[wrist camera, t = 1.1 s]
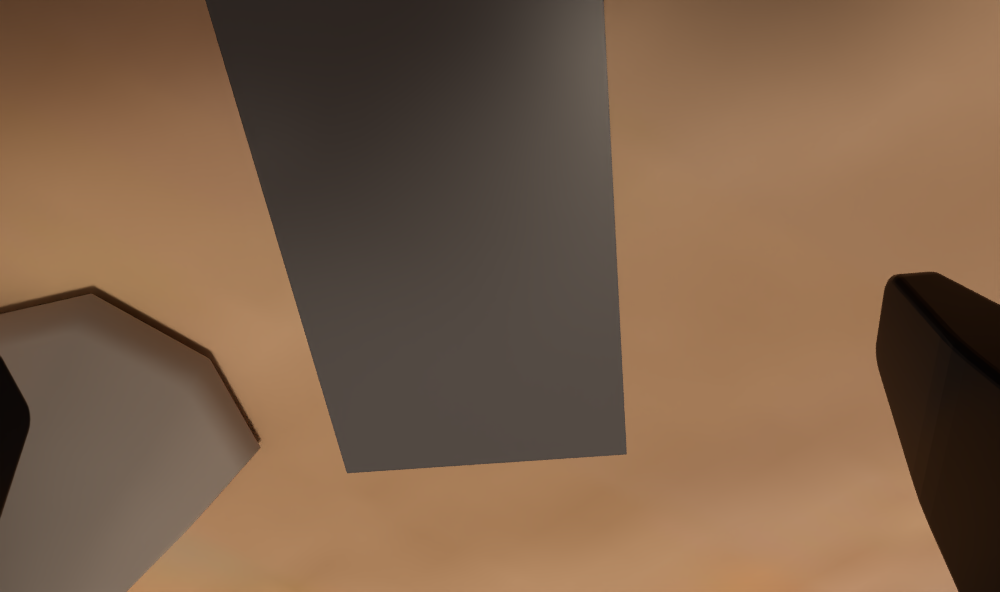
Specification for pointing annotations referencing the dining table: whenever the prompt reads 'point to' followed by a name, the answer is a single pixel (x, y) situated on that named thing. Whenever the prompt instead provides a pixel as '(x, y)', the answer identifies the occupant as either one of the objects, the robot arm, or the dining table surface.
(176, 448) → the grey flared piece
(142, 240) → the dining table surface
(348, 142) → the block
